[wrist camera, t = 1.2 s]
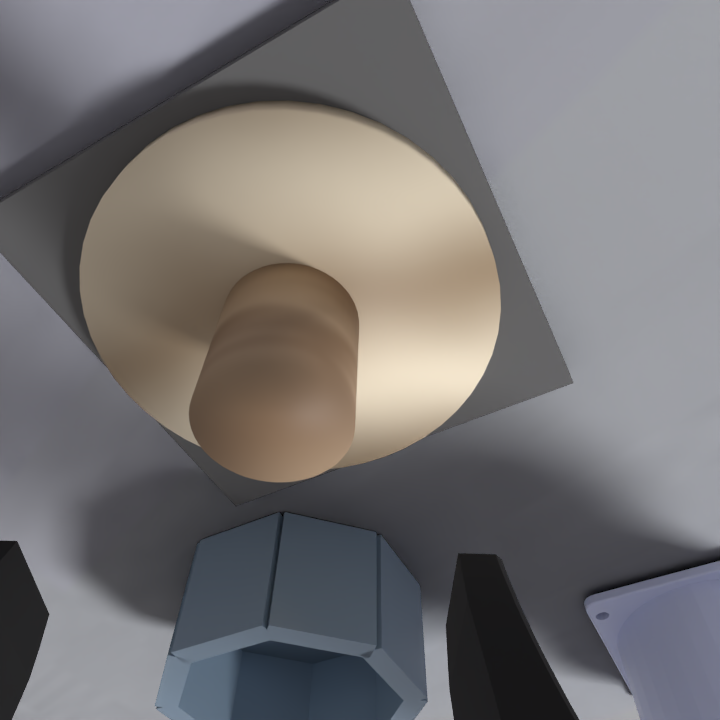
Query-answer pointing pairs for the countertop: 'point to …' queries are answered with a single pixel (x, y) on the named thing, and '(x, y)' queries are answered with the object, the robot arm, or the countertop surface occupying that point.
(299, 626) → the bowl
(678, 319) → the countertop surface
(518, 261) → the mat
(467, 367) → the lid
